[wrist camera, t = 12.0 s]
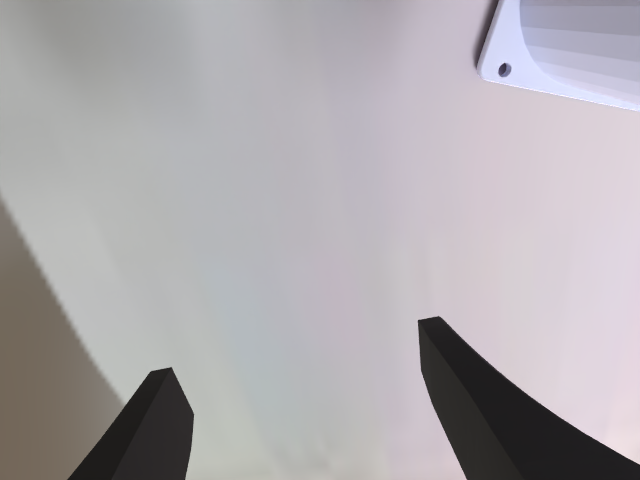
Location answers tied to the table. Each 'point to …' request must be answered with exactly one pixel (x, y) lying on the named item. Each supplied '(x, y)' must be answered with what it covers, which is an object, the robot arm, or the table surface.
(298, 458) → the table surface
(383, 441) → the table surface
